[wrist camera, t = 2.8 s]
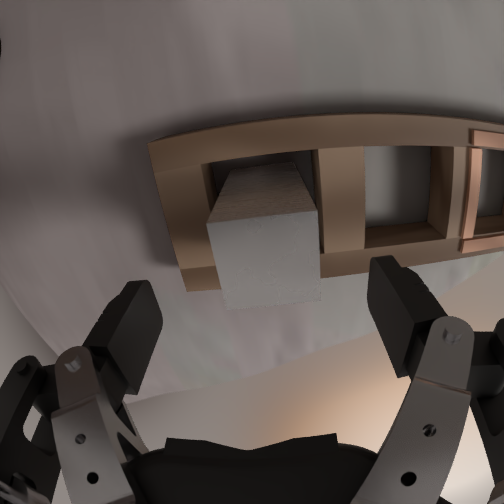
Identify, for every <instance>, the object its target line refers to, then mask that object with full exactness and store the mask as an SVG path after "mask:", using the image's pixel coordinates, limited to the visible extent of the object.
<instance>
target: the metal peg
mask: <svg viewBox="0 0 504 504" xmlns="http://www.w3.org/2000/svg"><path fill="white" fill-rule="evenodd" d="M206 225H207V230H208V234H209V239H210V243H211V247H212V251H213V256H214V260H215V264H216V268H217V272H218V277H219V281H220V285H221V289H222V293H223V297H224V301H225V305H226V309H227V310H232V309H244V308H255V307H266V306H276V305H285V304H295V303H303V302H312V301H320V300H321V285H320V251H319V229H318V212H317V209H316V207H315V205H314V202H313V200H312V198H311V196H310V194H309V192H308V190H307V188H306V186H305V184H304V182H303V180H302V178H301V176H300V174H299V173H298V171H297V169H296V167H295V165H294V163H293V162H287V163H278V164H269V165H261V166H253V167H246V168H239V169H232V170H231V171H230V173H229V175H228V177H227V179H226V182H225V184H224V186H223V188H222V190H221V192H220V194H219V197H218V199H217V201H216V203H215V205H214V208H213V210H212V212H211V214H210V216H209V219H208V221H207V223H206Z"/></svg>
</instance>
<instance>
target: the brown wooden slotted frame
mask: <svg viewBox="0 0 504 504" xmlns="http://www.w3.org/2000/svg"><path fill="white" fill-rule="evenodd" d="M398 145H415V146H431V176H430V195H429V208H428V219H427V222H418V223H408V224H398V225H388V226H378V227H368V228H365V165H364V146H398ZM147 146H148V150H149V155H150V159H151V164H152V168H153V172H154V176H155V180H156V185H157V189H158V193H159V197H160V200H161V204H162V208H163V212H164V216H165V219H166V223H167V227H168V230H169V234H170V237H171V241H172V244H173V248H174V251H175V255H176V258H177V261H178V265H179V268H180V271H181V274H182V277H183V281H184V284H185V287H186V290H187V292H190V291H202V290H214V289H221V285H220V281H219V277H218V272H217V268H216V264H215V260H214V256H213V251H212V247H211V243H210V239H209V234H208V230H207V225H206V223H207V221H208V219H209V216H210V214H211V212H212V210H213V208H214V205H215V203H216V201H217V199H218V196H217V191H216V185H215V180H214V175H213V170H212V164H211V162H216V161H222V160H229V159H235V158H242V157H249V156H257V155H265V154H273V153H282V152H291V151H301V150H310V151H311V161H312V172H313V184H314V197H315V207H316V209H317V212H318V229H319V251H320V278H328V277H336V276H344V275H352V274H359V273H367V272H369V267H370V260H371V258H372V257H378V256H386V255H392V256H393V257H394V258H395V259H396V260H397V262H398V263H399V264H400V266H401V267H409V266H416V265H422V264H429V263H435V262H441V261H447V260H453V259H459V258H465V257H471V256H477V255H482V254H488V253H494V252H499V251H504V201H503V208H502V214H501V215H493V216H482V217H476V214H477V207H478V199H479V190H480V180H481V166H482V148H483V149H494V150H504V124H501V123H496V122H490V121H483V120H477V119H470V118H462V117H453V116H443V115H432V114H417V113H393V112H350V113H325V114H309V115H297V116H286V117H277V118H268V119H260V120H252V121H245V122H238V123H232V124H226V125H220V126H214V127H209V128H204V129H198V130H194V131H189V132H184V133H179V134H175V135H171V136H166V137H163V138H160V139H157V140H155V141H152V142H150V143H147Z"/></svg>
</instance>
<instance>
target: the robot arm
mask: <svg viewBox="0 0 504 504" xmlns="http://www.w3.org/2000/svg"><path fill="white" fill-rule="evenodd" d="M367 302H368V307H369V311H370V313H371V315H372V317H373V320H374V322H375V324H376V327H377V329H378V331H379V334H380V336H381V338H382V341H383V343H384V346H385V348H386V350H387V353H388V355H389V358H390V360H391V363H392V365H393V368H394V370H395V373H396V375H397V378H401V377H405V376H409V377H410V379H411V383H410V386H409V388H408V391H407V393H406V396H405V398H404V400H403V403H402V405H401V407H400V409H399V412H398V414H397V416H396V418H395V420H394V422H393V425H392V426H391V429H390V431H389V433H388V434H387V436H386V439H385V440H384V442H383V444H382V446H381V448H380V449H379V451H378V453H375V452H373V451H371V450H368V449H366V448H363V447H359V446H355V445H350V444H342V443H338V441H337V435H336V433H333V434H327V435H319V436H311V437H302V438H293V439H290V440H286V441H283V442H279V443H276V444H272V445H269V446H265V447H261V448H257V449H253V450H241V449H237V448H233V447H229V446H224V445H220V444H216V443H212V442H209V441H205V440H188V439H175V438H167V439H166V444H165V448H162V449H157V450H153V451H149V450H148V448H147V447H146V446H145V445H144V443H143V441H142V439H141V437H140V435H139V432H138V430H137V428H136V426H135V424H134V422H133V420H132V417H131V415H130V413H129V410H128V408H127V406H126V404H125V402H124V401H123V397H124V395H125V394H132V395H138V392H139V389H140V386H141V383H142V381H143V378H144V375H145V372H146V369H147V367H148V364H149V361H150V359H151V356H152V353H153V351H154V348H155V345H156V343H157V340H158V337H159V335H160V332H161V330H162V326H163V318H162V313H161V310H160V308H159V305H158V302H157V300H156V297H155V294H154V292H153V289H152V286H151V284H150V282H149V281H148V280H139V281H129V282H127V284H126V285H125V287H124V288H123V290H122V291H121V293H120V294H119V295H117V296H116V297H115V298H114V299H113V300H112V301H110V302H109V303H108V305H107V306H106V308H105V309H104V311H103V314H101V316H100V317H99V319H98V322H96V323H95V325H94V327H93V328H92V330H91V332H90V333H89V335H88V336H87V338H86V340H85V341H84V343H83V345H82V346H76V347H72V348H70V349H68V350H66V351H65V352H63V353H62V354H61V355H60V356H59V358H58V359H57V361H56V363H55V364H53V365H48V366H42V365H41V364H40V362H39V361H38V359H37V358H36V357H34V356H25V357H23V358H21V359H20V360H18V361H17V362H16V363H15V364H14V366H13V367H12V369H11V370H10V372H9V374H8V375H7V377H6V379H5V380H4V382H3V384H2V386H1V388H0V504H51V503H52V499H53V495H54V491H55V488H56V484H57V480H58V477H59V473H60V469H62V473H63V477H64V480H65V484H66V487H67V490H68V493H69V497H70V500H71V503H72V504H452V503H450V502H448V501H447V500H445V499H444V498H442V497H440V494H441V491H442V489H443V486H444V484H445V482H446V479H447V477H448V474H449V472H450V469H451V466H452V463H453V461H454V458H455V455H456V452H457V449H458V446H459V442H460V439H461V436H462V432H463V429H464V425H465V421H466V417H467V413H468V409H469V405H470V407H471V410H472V412H473V415H474V418H475V421H476V424H477V426H478V429H479V432H480V435H481V438H482V441H483V444H484V448H485V451H486V454H487V457H488V461H489V464H490V468H491V472H492V476H493V480H494V484H495V487H494V488H493V490H492V492H491V495H490V498H489V501H488V503H487V504H504V318H503V319H500V320H499V321H498V322H497V324H496V327H495V329H494V331H493V332H474V331H473V330H472V328H471V326H470V325H469V324H468V323H467V322H465V321H464V320H462V319H460V318H457V317H453V316H448V315H447V314H446V313H445V311H444V310H443V308H442V307H441V305H440V304H439V303H438V301H437V300H436V298H435V297H434V295H433V294H432V293H431V292H429V289H428V287H427V286H426V285H425V284H424V282H423V281H422V279H421V278H420V277H419V275H418V274H417V273H415V272H414V271H412V270H411V269H409V268H407V267H401V266H400V264H399V263H398V262H397V260H396V259H395V258H394V257H393V256H392V255H386V256H378V257H372V258H371V260H370V267H369V279H368V290H367ZM32 405H33V406H34V407H35V408H36V409H37V411H38V412H39V413H40V414H41V415H42V416H41V418H40V421H39V423H38V425H37V428H36V430H35V433H34V435H33V438H32V440H31V442H30V441H29V440H28V439H27V438H26V437H25V435H24V433H23V425H24V423H25V420H26V418H27V416H28V413H29V411H30V409H31V407H32Z"/></svg>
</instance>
